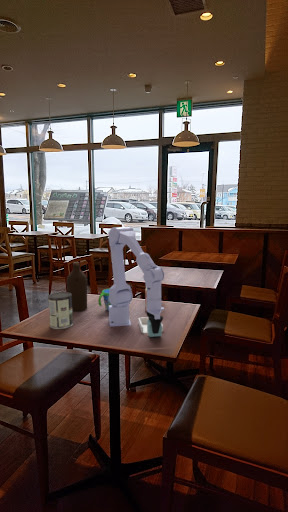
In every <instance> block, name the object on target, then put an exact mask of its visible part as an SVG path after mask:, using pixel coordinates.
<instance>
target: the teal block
mask: <svg viewBox="0 0 288 512" xmlns="http://www.w3.org/2000/svg"><path fill="white" fill-rule="evenodd" d="M162 325H163V323H162V324H160V328H159V332H158V333H157V334H153V332H152V326H151V322H150V320H147V332H148V333H147V335H148V336H149V338H150V337H151V338H153V337H162V336H163V335H162V333H163V332H162Z"/></svg>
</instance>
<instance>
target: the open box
mask: <svg viewBox="0 0 288 512" xmlns="http://www.w3.org/2000/svg"><path fill="white" fill-rule="evenodd" d="M147 320H149V319H148V316H144V317H143V316H141V317H137V322H138V327H139V329H140V332H141V334H148V332H147ZM161 324H162V333H163V332H164V324H163V323H162V322H161Z"/></svg>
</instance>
